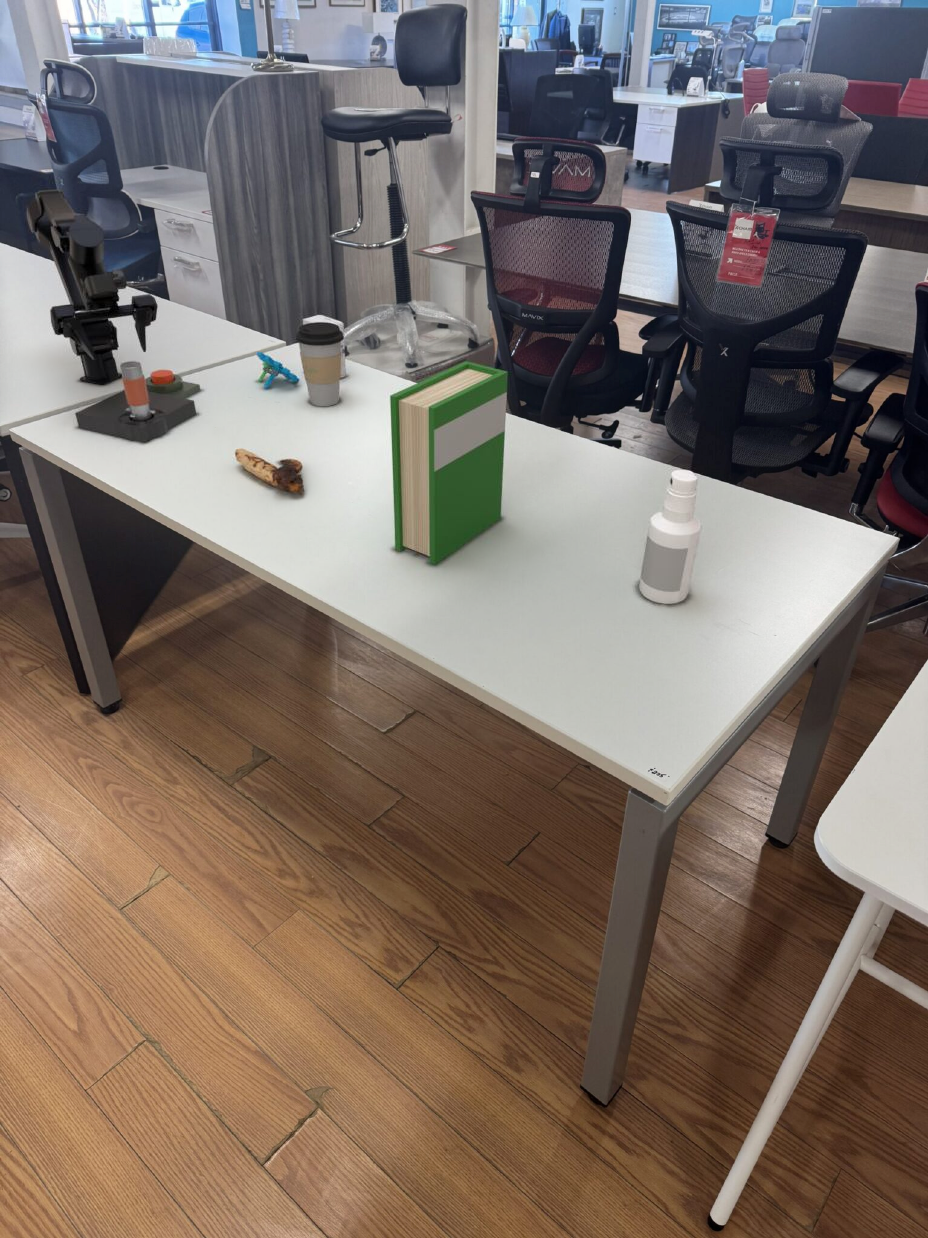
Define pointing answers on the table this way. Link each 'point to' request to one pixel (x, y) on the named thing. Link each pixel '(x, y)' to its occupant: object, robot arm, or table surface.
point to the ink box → (341, 326)
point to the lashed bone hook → (273, 471)
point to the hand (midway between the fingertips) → (120, 354)
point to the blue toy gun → (274, 370)
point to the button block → (173, 387)
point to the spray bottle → (672, 543)
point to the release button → (162, 376)
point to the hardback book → (448, 458)
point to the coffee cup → (321, 361)
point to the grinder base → (118, 422)
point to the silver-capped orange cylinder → (136, 391)
